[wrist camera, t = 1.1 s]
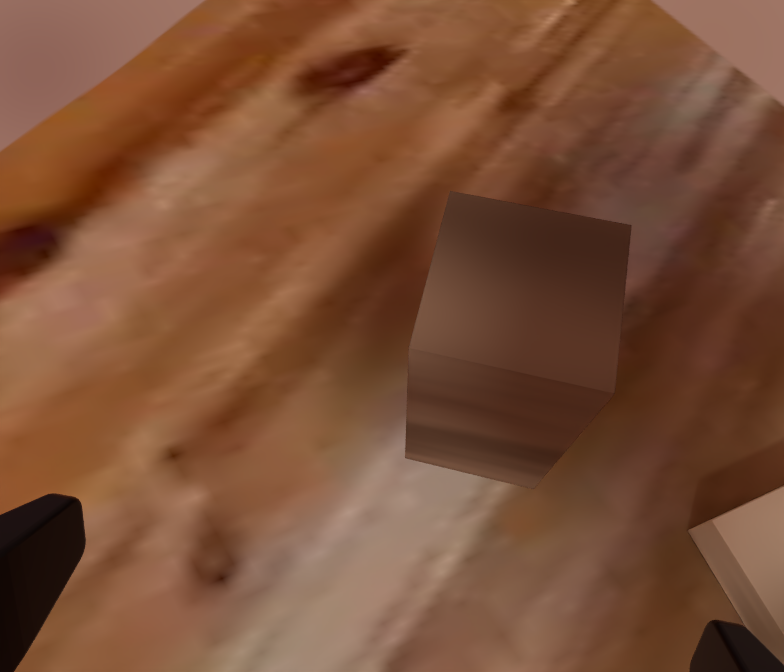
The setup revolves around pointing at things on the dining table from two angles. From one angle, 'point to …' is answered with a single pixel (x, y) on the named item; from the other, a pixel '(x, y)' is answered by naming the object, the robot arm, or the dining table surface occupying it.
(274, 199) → the dining table surface
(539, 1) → the dining table surface
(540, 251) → the walnut pillar
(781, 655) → the birch plinth
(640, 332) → the dining table surface
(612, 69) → the dining table surface
